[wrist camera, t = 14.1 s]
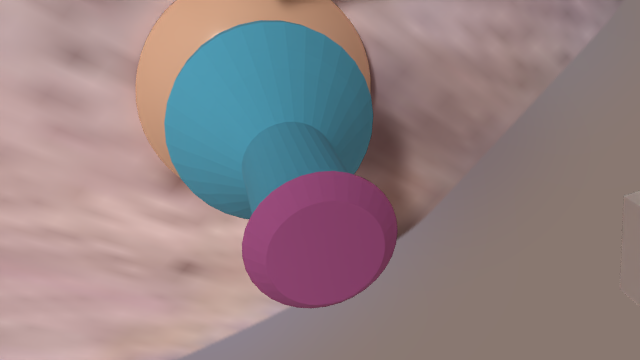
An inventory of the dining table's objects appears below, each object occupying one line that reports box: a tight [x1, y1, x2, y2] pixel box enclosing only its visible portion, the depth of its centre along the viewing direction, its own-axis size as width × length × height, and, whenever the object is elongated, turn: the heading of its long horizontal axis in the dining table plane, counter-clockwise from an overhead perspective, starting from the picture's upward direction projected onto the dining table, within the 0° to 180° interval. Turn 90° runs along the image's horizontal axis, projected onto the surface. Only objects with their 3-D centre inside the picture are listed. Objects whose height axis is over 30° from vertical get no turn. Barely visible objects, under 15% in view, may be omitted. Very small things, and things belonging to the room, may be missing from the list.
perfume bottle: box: [164, 20, 397, 308], centre depth 23 cm, size 9×9×15 cm
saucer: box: [135, 0, 371, 177], centre depth 30 cm, size 12×12×1 cm
